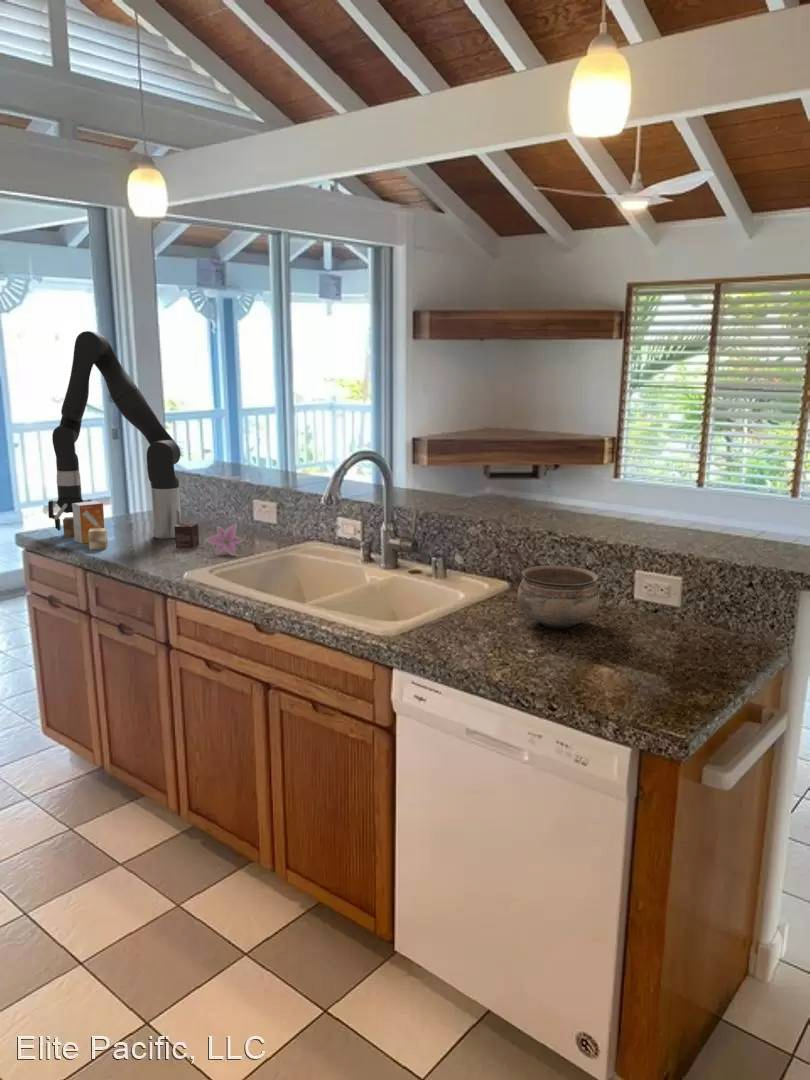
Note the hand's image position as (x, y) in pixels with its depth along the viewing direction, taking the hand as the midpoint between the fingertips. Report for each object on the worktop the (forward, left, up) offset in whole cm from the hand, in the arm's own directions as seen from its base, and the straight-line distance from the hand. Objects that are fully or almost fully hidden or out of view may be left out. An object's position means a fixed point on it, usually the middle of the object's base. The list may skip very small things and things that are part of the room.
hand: (72, 529), depth 279 cm
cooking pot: (-125, +126, -2) cm, 178 cm away
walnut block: (0, 0, -2) cm, 2 cm away
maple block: (-11, +22, -2) cm, 25 cm away
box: (-39, +25, -2) cm, 47 cm away
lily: (-51, +37, -2) cm, 63 cm away
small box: (-7, +11, -2) cm, 13 cm away
